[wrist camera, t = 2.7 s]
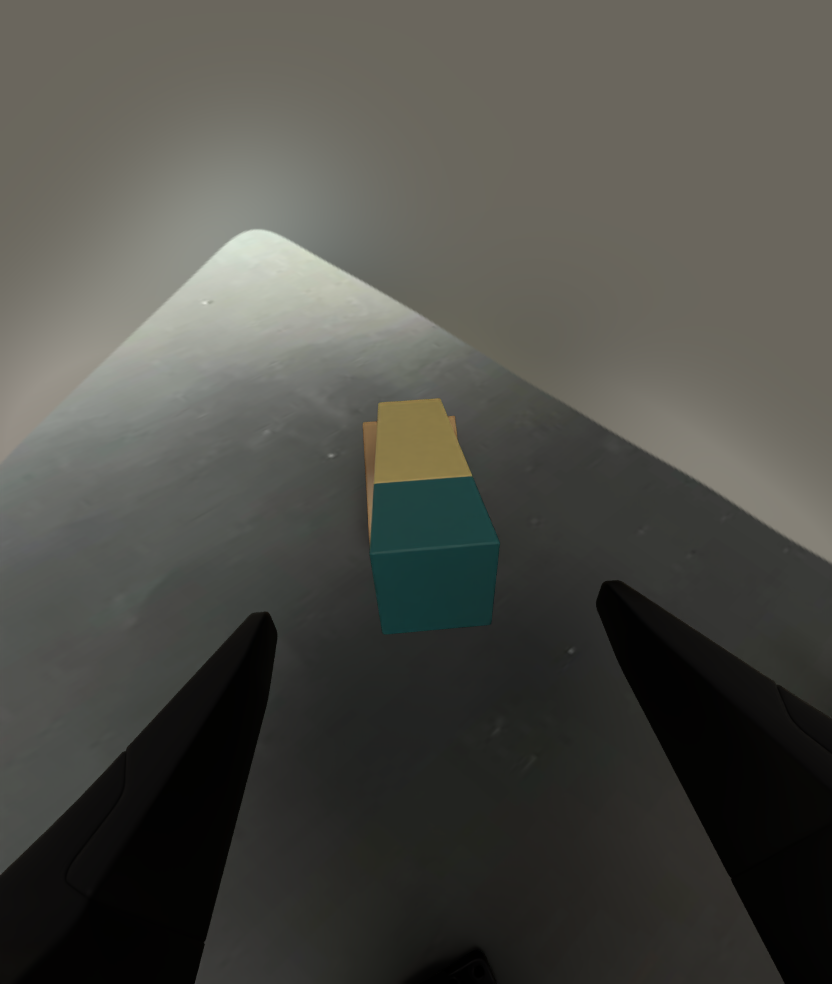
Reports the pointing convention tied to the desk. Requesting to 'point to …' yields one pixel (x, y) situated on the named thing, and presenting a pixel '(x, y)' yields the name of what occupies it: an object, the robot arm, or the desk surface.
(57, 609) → the desk surface
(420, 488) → the two-tone square bar
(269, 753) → the desk surface
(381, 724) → the desk surface
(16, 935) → the robot arm
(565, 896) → the desk surface
